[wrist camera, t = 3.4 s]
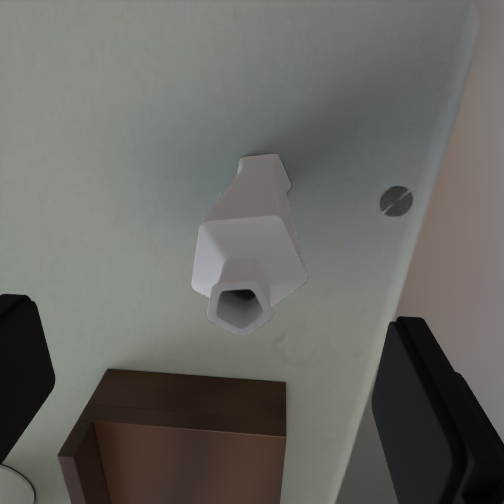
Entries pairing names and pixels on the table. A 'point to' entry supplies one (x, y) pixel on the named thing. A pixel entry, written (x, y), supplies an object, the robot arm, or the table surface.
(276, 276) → the perfume bottle
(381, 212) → the table surface
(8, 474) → the mug
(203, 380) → the wooden display stand
